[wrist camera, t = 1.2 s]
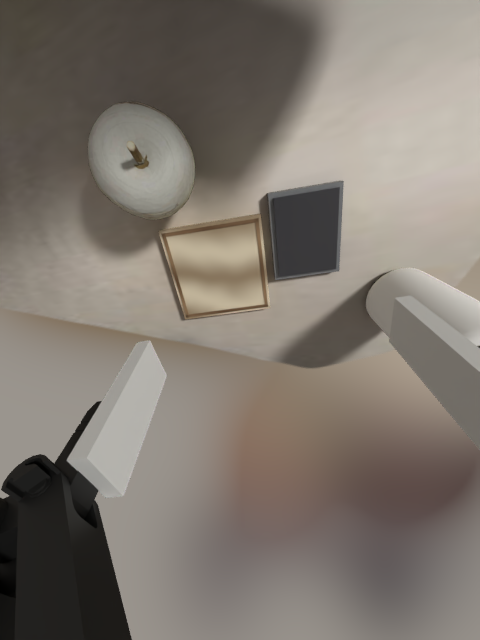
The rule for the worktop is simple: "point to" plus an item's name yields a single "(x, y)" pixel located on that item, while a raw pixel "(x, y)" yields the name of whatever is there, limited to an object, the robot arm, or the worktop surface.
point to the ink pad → (306, 229)
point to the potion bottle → (424, 301)
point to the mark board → (218, 266)
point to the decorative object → (141, 160)
